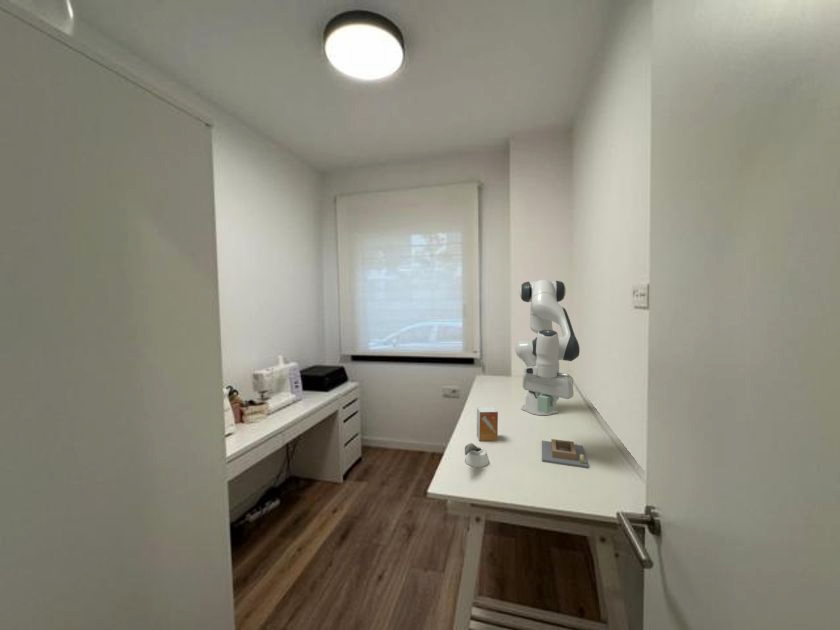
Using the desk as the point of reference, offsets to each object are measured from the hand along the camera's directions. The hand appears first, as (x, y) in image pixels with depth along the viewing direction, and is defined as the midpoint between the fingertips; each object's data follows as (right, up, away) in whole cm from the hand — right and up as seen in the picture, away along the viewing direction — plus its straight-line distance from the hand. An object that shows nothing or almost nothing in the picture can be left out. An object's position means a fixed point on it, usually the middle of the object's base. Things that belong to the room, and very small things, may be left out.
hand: (546, 404), depth 138 cm
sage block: (0, -2, 0) cm, 2 cm away
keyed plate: (+6, -19, -2) cm, 20 cm away
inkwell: (-31, -20, -11) cm, 39 cm away
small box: (-21, -19, +14) cm, 32 cm away
